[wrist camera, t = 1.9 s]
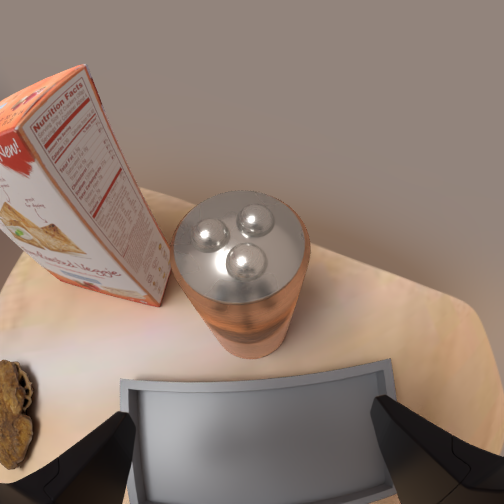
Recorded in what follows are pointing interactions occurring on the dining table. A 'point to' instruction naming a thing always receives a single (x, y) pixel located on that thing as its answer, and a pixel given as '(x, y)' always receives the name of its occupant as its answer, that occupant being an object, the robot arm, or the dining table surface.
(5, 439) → the decorative rock
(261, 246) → the copper cylinder
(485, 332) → the dining table surface
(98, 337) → the dining table surface
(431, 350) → the dining table surface
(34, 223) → the cracker box
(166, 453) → the gray tray
